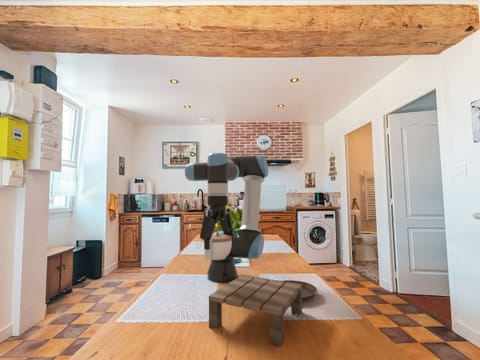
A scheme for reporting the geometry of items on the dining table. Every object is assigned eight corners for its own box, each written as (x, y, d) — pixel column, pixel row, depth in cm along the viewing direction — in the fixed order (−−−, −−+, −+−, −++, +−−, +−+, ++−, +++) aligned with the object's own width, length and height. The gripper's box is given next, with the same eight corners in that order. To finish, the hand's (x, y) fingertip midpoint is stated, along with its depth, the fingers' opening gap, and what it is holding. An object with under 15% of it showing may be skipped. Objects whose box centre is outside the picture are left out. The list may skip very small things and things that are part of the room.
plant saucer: (259, 290, 119) (258, 282, 119) (299, 284, 126) (299, 277, 126) (281, 309, 100) (281, 300, 100) (327, 301, 107) (327, 292, 107)
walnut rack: (242, 300, 108) (242, 274, 108) (302, 312, 97) (301, 284, 97) (208, 327, 87) (208, 295, 87) (280, 346, 76) (279, 310, 76)
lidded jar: (220, 253, 106) (220, 229, 107) (238, 258, 98) (238, 232, 99) (197, 257, 99) (197, 232, 100) (214, 263, 91) (214, 235, 92)
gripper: (226, 194, 112) (226, 248, 111) (189, 195, 92) (188, 261, 91) (241, 194, 108) (242, 250, 107) (207, 195, 88) (206, 263, 87)
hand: (217, 255), depth 99 cm, fingers closed on lidded jar, 11 cm apart
